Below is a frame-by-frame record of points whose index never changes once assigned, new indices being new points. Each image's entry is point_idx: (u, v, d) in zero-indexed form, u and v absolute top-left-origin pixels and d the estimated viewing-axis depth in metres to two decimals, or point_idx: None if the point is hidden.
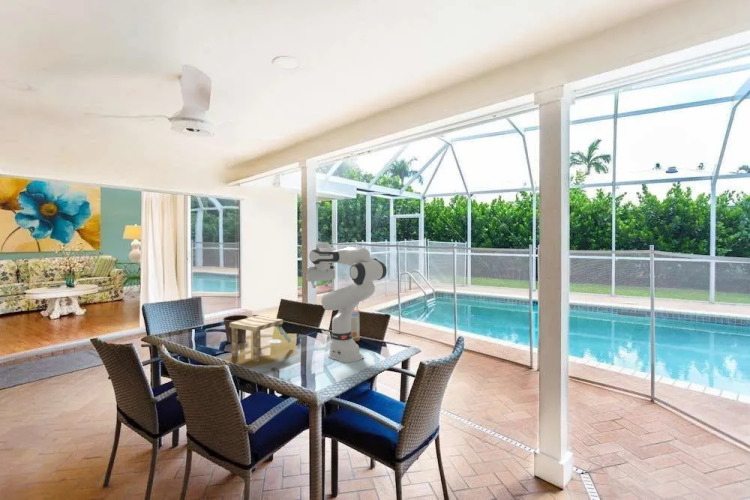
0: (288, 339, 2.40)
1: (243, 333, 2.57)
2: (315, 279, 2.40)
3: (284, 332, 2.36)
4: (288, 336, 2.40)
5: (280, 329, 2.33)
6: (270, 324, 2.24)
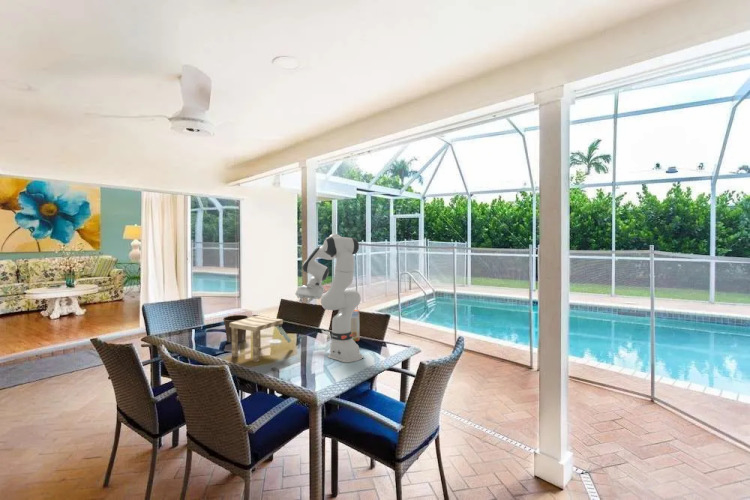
0: (288, 339, 2.40)
1: (243, 333, 2.57)
2: (300, 293, 2.58)
3: (284, 332, 2.36)
4: (288, 336, 2.40)
5: (280, 329, 2.33)
6: (270, 324, 2.24)
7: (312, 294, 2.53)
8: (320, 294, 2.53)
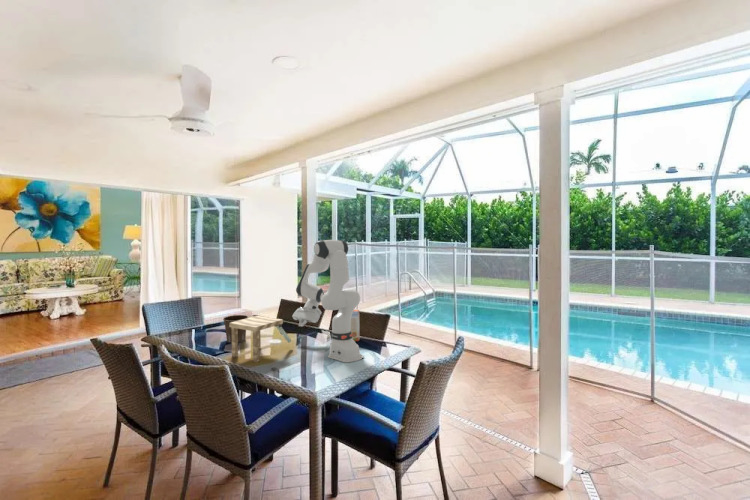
0: (288, 339, 2.40)
1: (243, 333, 2.57)
2: (297, 316, 2.56)
3: (284, 332, 2.36)
4: (288, 336, 2.40)
5: (280, 329, 2.33)
6: (270, 324, 2.24)
7: (309, 318, 2.51)
8: (317, 318, 2.51)
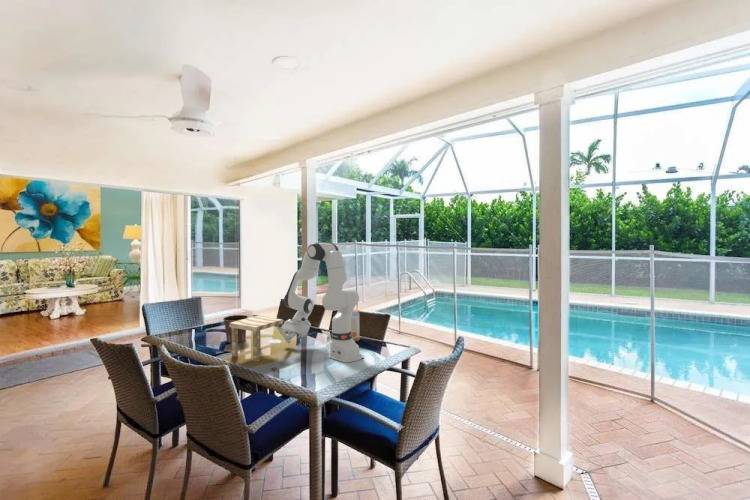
0: (288, 340, 2.39)
1: (243, 333, 2.57)
2: (286, 328, 2.46)
3: (284, 332, 2.36)
4: (288, 337, 2.40)
5: (280, 329, 2.33)
6: (270, 324, 2.24)
7: (298, 330, 2.41)
8: (306, 330, 2.41)
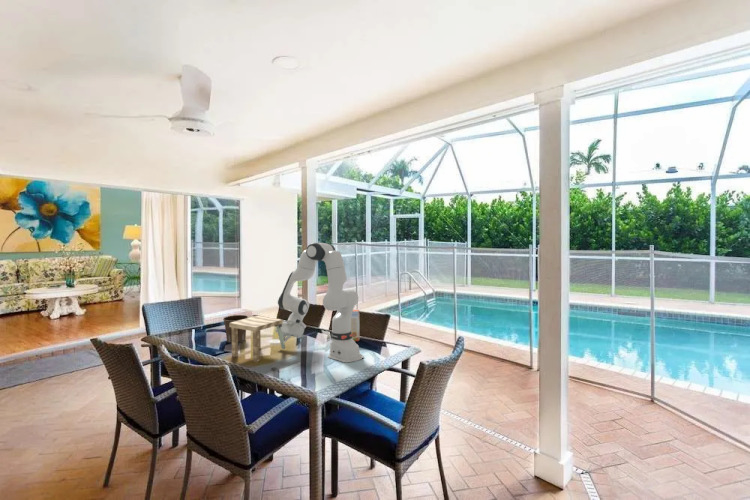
0: (283, 344, 2.36)
1: (243, 333, 2.57)
2: None
3: (282, 335, 2.34)
4: None
5: (279, 330, 2.33)
6: (270, 324, 2.24)
7: (292, 332, 2.37)
8: (301, 332, 2.37)
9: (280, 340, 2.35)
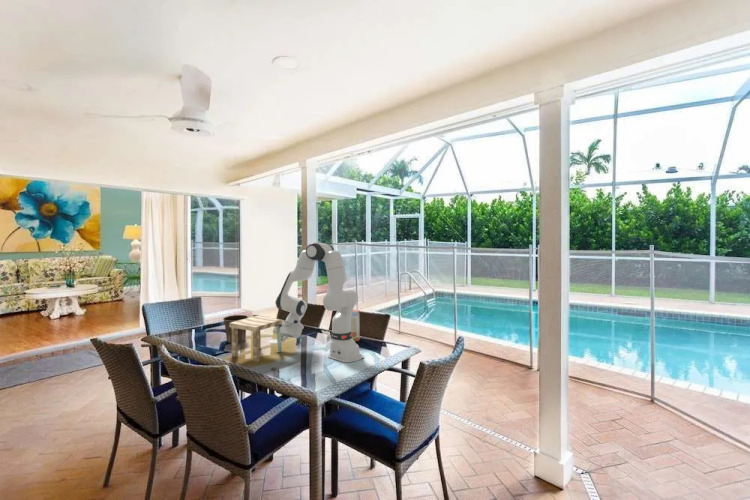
0: (280, 346, 2.33)
1: (243, 333, 2.57)
2: None
3: (280, 336, 2.33)
4: (281, 344, 2.35)
5: (278, 330, 2.32)
6: (270, 324, 2.24)
7: (290, 333, 2.35)
8: (298, 333, 2.35)
9: (278, 341, 2.33)
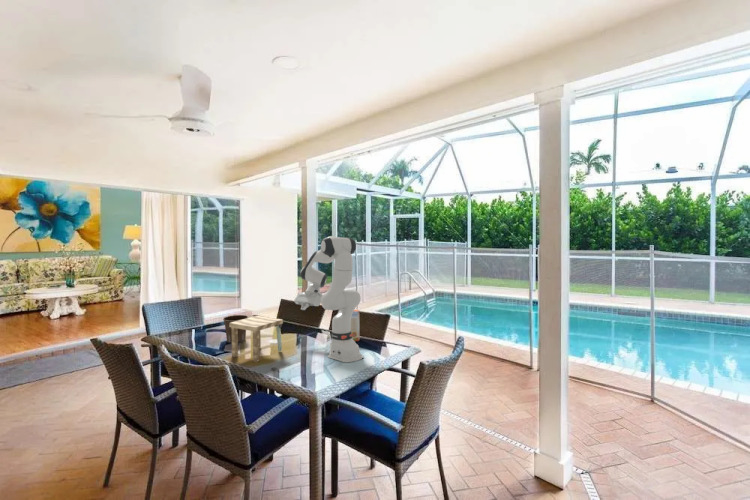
0: (280, 346, 2.33)
1: (243, 333, 2.57)
2: (299, 300, 2.57)
3: (280, 336, 2.33)
4: (281, 344, 2.35)
5: (278, 330, 2.32)
6: (270, 324, 2.24)
7: (311, 301, 2.52)
8: (319, 301, 2.52)
9: (278, 341, 2.33)
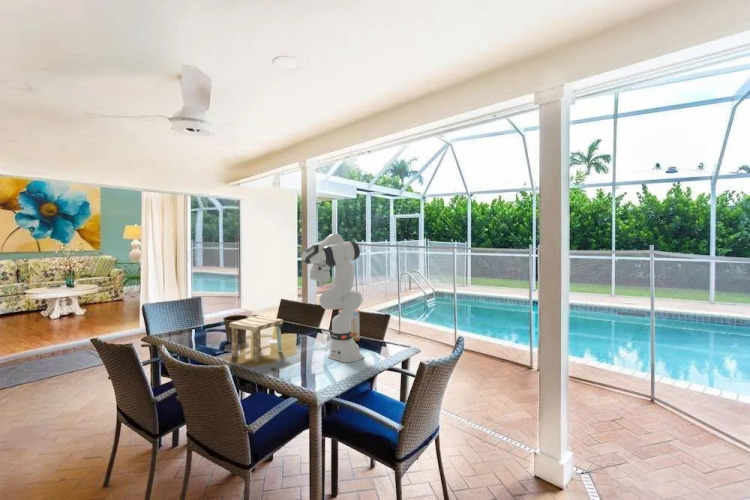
0: (280, 346, 2.33)
1: (243, 333, 2.57)
2: (313, 278, 2.60)
3: (280, 336, 2.33)
4: (281, 344, 2.35)
5: (278, 330, 2.32)
6: (270, 324, 2.24)
7: (321, 279, 2.52)
8: (327, 277, 2.50)
9: (278, 341, 2.33)
